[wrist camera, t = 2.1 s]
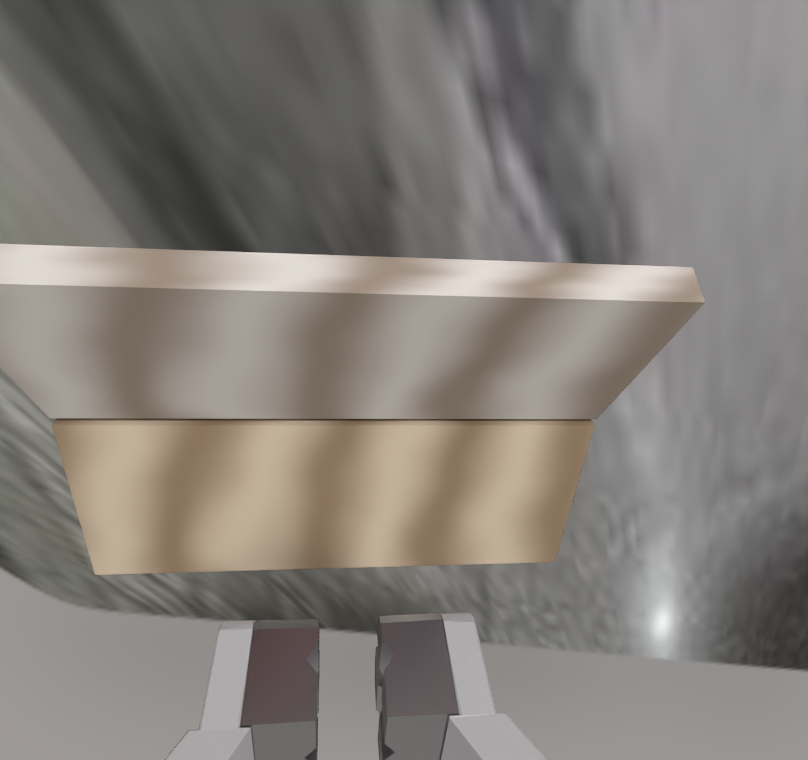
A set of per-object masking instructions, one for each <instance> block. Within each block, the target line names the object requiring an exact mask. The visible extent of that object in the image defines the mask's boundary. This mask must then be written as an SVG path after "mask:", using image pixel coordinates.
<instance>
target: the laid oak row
mask: <svg viewBox="0 0 808 760" xmlns="http://www.w3.org/2000/svg"><path fill="white" fill-rule="evenodd" d="M52 428H53V431H54V435H55V438H56V442H57V445H58V448H59V452H60V455H61V459H62V462H63V466H64V469H65V473H66V476H67V479H68V483H69V486H70V490H71V493H72V497H73V500H74V503H75V507H76V510H77V514H78V517H79V521H80V524H81V528H82V531H83V534H84V538H85V541H86V545H87V548H88V552H89V555H90V559H91V562H92V565H93V569H94V572H95V575H104V574H140V573H176V572H212V571H248V570H284V569H320V568H356V567H391V566H427V565H463V564H499V563H535V562H555V560H556V557H557V553H558V550H559V547H560V543H561V540H562V536H563V533H564V529H565V526H566V522H567V519H568V516H569V512H570V509H571V505H572V502H573V498H574V495H575V491H576V488H577V484H578V481H579V478H580V474H581V471H582V467H583V464H584V460H585V457H586V453H587V450H588V447H589V443H590V440H591V436H592V433H593V429H594V424H593V422H592V421H591V419H164V418H57V419H56V420H55V422H54V423H53V424H52Z"/></svg>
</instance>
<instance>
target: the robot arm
mask: <svg viewBox="0 0 808 760" xmlns="http://www.w3.org/2000/svg"><path fill="white" fill-rule="evenodd" d="M377 636H378V646H377V647H376V656H375V693H376V710H377V711H378V712H379V713H380V718H379V731H378V748H379V760H547V759H546V758H545V757H544V755H543V754H542V753H541V752H540V751H539V750H538V749H537V748H536V746H535V745H534V744H533V743H532V742H531V741H530V740H529V739H528V737H527V736H526V735H525V734H524V733H523V732H522V731H521V730H520V729H519V727H518V726H517V725H516V724H515V723H514V722H513V720H512V719H510V717H509V716H508V715H507V714H506V713H496V710H495V706H494V701H493V697H492V693H491V688H490V684H489V680H488V675H487V671H486V667H485V663H484V658H483V654H482V649H481V645H480V641H479V636H478V632H477V628H476V623H475V619H474V618H473V616H472V614H471V613H469V612H468V613H451V614H439V613H429V614H410V615H391V616H379V619H378V627H377ZM318 710H319V619H313V620H247V621H222V623H221V626H220V628H219V630H218V633H217V638H216V643H215V649H214V654H213V659H212V664H211V669H210V674H209V680H208V685H207V690H206V695H205V700H204V705H203V710H202V715H201V721H200V726H199V730H190V731H188V732H187V733H186V734H185V735H184V737H183V738H182V739H181V740H180V741H179V743H178V744H177V745H176V746H175V748H174V749H173V750H172V751H171V752H170V754H169V755H168V756H167V758H166V759H165V760H317V747H318V717H317V714H318Z"/></svg>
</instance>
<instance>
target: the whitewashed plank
mask: <svg viewBox="0 0 808 760" xmlns="http://www.w3.org/2000/svg"><path fill="white" fill-rule="evenodd" d="M704 303H705V301H704V298H703V295H702V292H701V290H700V287H699V284H698V281H697V278H696V275H695V273H694V270H693V267H666V266H636V265H607V264H578V263H548V262H519V261H489V260H460V259H430V258H401V257H372V256H342V255H313V254H283V253H254V252H224V251H195V250H165V249H136V248H107V247H77V246H48V245H18V244H0V368H1V369H2V370H3V371H4V372H5V373H6V374H7V375H8V376H9V377H10V378H11V379H12V380H13V381H14V382H15V383H16V384H17V385H18V386H19V387H20V388H21V389H22V390H23V391H24V392H25V393H26V394H27V396H28V397H29V398H30V399H31V400H32V401H33V402H34V403H35V404H36V405H37V406H38V407H39V408H40V409H41V410H42V411H43V412H44V413H45V414H46V415H47V416H48V417H49V418H164V419H597V418H598V417H599V416H600V415H601V414H602V413H603V412H604V411H605V409H606V408H607V407H608V406H609V405H610V404H611V403H612V402H613V401H614V400H615V399H616V398H617V397H618V396H619V394H620V393H621V392H622V391H623V390H624V389H625V388H626V387H627V386H628V385H629V384H630V383H631V382H632V380H633V379H634V378H635V377H636V376H637V375H638V374H639V373H640V372H641V371H642V370H643V369H644V368H645V367H646V365H647V364H648V363H649V362H650V361H651V360H652V359H653V358H654V357H655V356H656V355H657V354H658V353H659V351H660V350H661V349H662V348H663V347H664V346H665V345H666V344H667V343H668V342H669V341H670V340H671V339H672V338H673V336H674V335H675V334H676V333H677V332H678V331H679V330H680V329H681V328H682V327H683V326H684V325H685V324H686V322H687V321H688V320H689V319H690V318H691V317H692V316H693V315H694V314H695V313H696V312H697V311H698V310H699V309H700V307H701V306H702V305H703V304H704Z"/></svg>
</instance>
